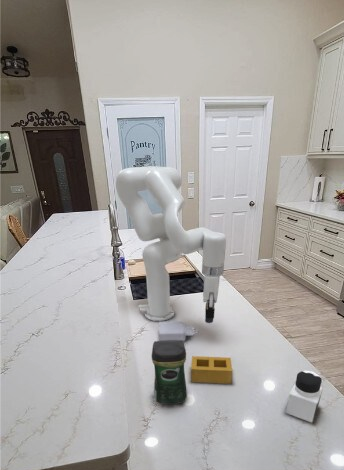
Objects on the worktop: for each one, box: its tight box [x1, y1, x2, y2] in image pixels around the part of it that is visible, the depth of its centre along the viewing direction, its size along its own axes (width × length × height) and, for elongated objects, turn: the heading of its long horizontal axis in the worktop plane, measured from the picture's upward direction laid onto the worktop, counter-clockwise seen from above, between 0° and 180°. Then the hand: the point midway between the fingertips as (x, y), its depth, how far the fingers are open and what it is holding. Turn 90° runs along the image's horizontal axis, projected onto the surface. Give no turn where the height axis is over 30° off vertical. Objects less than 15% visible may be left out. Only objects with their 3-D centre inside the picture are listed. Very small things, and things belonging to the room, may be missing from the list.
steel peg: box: [204, 302, 214, 324], centre depth 122 cm, size 3×3×8 cm
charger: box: [158, 320, 200, 342], centre depth 126 cm, size 5×9×15 cm
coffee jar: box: [151, 340, 188, 405], centre depth 93 cm, size 10×8×19 cm
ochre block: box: [190, 355, 233, 385], centre depth 104 cm, size 12×7×5 cm, turn 85°
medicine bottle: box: [285, 370, 324, 423], centre depth 88 cm, size 7×7×12 cm
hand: (209, 315), depth 123 cm, fingers closed on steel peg, 3 cm apart
